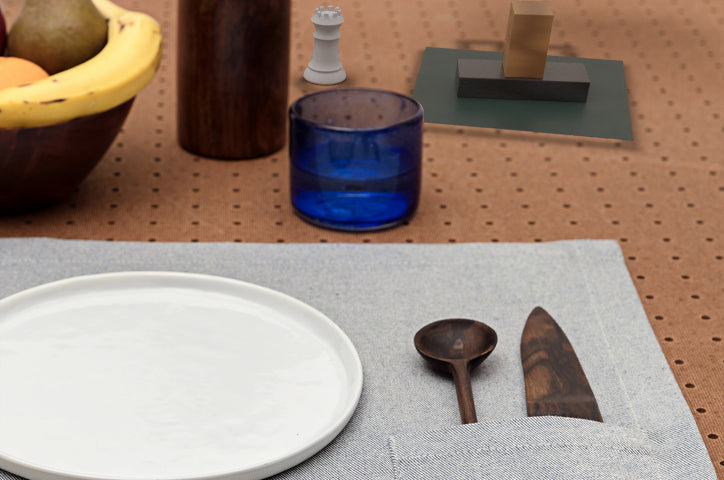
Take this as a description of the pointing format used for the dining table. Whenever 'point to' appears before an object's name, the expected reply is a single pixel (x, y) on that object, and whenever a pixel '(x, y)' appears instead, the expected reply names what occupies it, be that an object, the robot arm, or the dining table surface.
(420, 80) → the slate board
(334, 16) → the rook chess piece
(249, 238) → the dining table surface
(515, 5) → the duster
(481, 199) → the dining table surface
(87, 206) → the dining table surface
